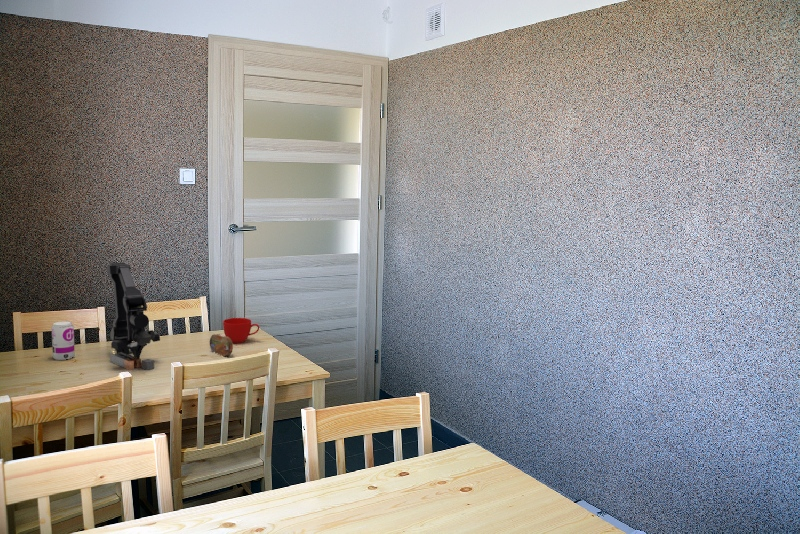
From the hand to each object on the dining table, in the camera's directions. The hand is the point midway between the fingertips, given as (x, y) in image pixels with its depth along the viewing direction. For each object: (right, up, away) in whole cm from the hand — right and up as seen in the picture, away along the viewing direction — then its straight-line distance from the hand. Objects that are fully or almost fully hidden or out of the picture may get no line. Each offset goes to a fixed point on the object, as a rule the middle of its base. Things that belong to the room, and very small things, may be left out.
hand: (137, 361), depth 278 cm
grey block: (+6, -2, -4) cm, 8 cm away
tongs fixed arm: (-6, -1, 0) cm, 6 cm away
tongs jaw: (-3, -1, 0) cm, 4 cm away
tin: (+29, 0, +20) cm, 36 cm away
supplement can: (-33, 0, +6) cm, 34 cm away
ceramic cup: (+33, +3, +42) cm, 53 cm away
